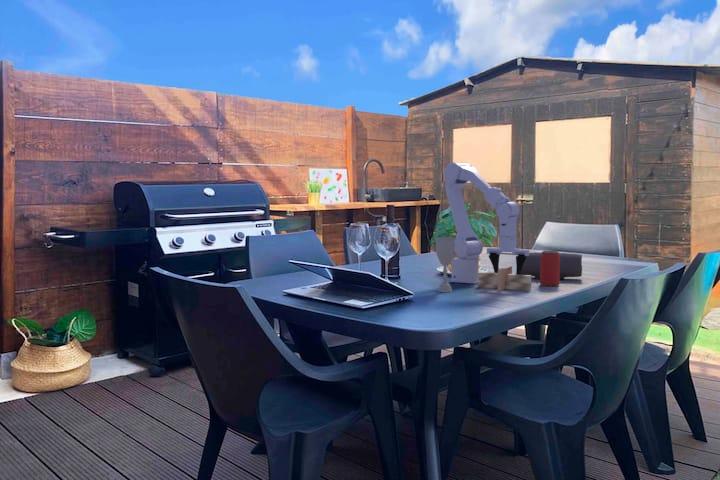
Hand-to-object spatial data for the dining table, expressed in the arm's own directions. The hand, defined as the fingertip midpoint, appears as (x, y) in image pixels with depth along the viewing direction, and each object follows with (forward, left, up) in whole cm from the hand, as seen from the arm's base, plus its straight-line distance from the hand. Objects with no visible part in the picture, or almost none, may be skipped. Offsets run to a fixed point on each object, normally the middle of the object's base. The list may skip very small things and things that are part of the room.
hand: (507, 275), depth 214 cm
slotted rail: (0, -4, -4) cm, 5 cm away
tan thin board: (0, -3, -4) cm, 5 cm away
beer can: (+12, +10, -4) cm, 16 cm away
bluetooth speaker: (+8, +26, -4) cm, 28 cm away
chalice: (-16, -18, -4) cm, 24 cm away
